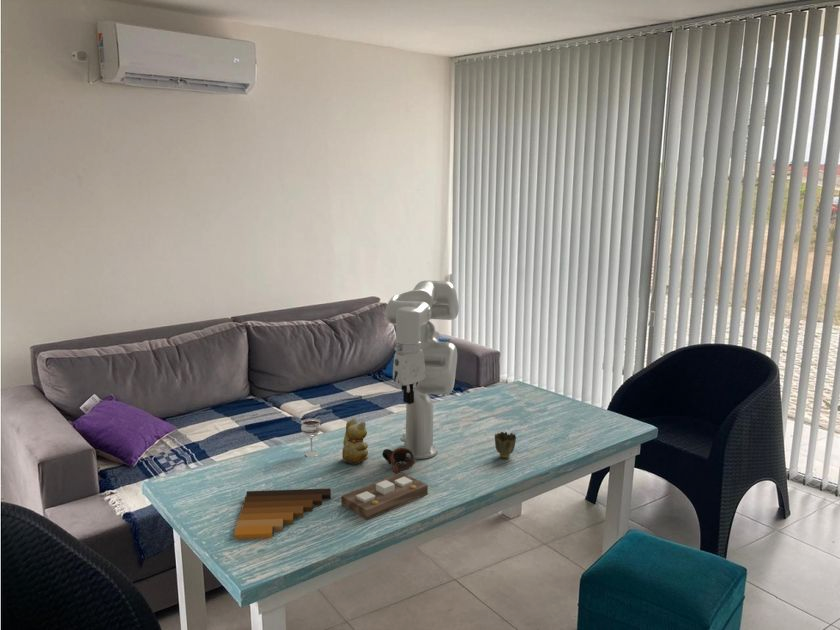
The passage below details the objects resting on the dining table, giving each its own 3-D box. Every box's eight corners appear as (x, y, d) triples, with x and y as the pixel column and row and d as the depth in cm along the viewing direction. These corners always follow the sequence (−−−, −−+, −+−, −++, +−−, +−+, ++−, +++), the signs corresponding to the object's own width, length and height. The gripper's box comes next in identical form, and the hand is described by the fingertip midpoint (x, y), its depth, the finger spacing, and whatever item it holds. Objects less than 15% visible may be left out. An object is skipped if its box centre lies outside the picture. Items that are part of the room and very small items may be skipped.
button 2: (394, 487, 217) (394, 480, 217) (404, 483, 220) (404, 476, 219) (403, 492, 214) (403, 484, 214) (412, 488, 217) (412, 480, 217)
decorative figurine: (372, 461, 240) (372, 419, 237) (357, 469, 233) (357, 426, 230) (350, 454, 245) (350, 413, 242) (335, 462, 238) (334, 420, 235)
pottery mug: (418, 465, 238) (420, 450, 233) (406, 486, 232) (408, 472, 226) (386, 451, 241) (387, 437, 236) (374, 472, 235) (375, 457, 229)
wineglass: (320, 458, 242) (319, 425, 239) (300, 458, 242) (299, 425, 239) (322, 450, 248) (321, 418, 246) (303, 450, 248) (302, 418, 246)
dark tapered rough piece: (490, 458, 242) (491, 437, 241) (498, 451, 249) (499, 430, 247) (510, 463, 239) (511, 441, 237) (518, 455, 245) (519, 434, 244)
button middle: (375, 491, 212) (375, 483, 212) (385, 487, 215) (385, 479, 214) (384, 496, 209) (384, 488, 209) (394, 491, 212) (394, 484, 211)
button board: (341, 505, 209) (341, 495, 208) (401, 481, 225) (401, 471, 224) (366, 519, 200) (366, 509, 199) (427, 493, 216) (427, 484, 216)
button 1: (356, 503, 207) (356, 495, 207) (366, 498, 210) (366, 491, 209) (364, 507, 204) (364, 500, 204) (375, 503, 207) (375, 495, 207)
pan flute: (330, 496, 216) (247, 498, 213) (330, 485, 215) (247, 488, 213) (328, 537, 191) (234, 541, 189) (328, 526, 191) (234, 530, 188)
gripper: (398, 354, 209) (398, 412, 214) (434, 344, 219) (433, 399, 224) (382, 349, 214) (382, 405, 219) (417, 339, 224) (417, 393, 229)
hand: (408, 402), depth 221 cm, fingers closed
